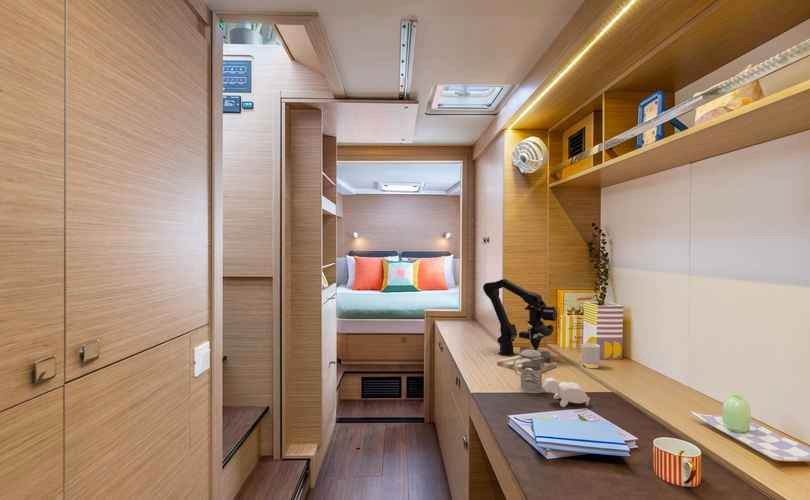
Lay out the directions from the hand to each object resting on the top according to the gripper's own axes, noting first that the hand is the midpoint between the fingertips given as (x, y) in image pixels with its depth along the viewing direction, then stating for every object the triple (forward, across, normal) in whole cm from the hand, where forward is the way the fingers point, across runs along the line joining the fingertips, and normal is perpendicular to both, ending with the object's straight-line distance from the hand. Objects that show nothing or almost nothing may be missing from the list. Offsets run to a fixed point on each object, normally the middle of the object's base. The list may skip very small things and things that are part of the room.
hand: (536, 350), depth 196 cm
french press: (+4, -38, -26) cm, 46 cm away
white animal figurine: (+5, -40, -43) cm, 59 cm away
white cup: (+4, +8, -24) cm, 26 cm away
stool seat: (+4, -14, -5) cm, 16 cm away
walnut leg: (+2, -7, -5) cm, 9 cm away
